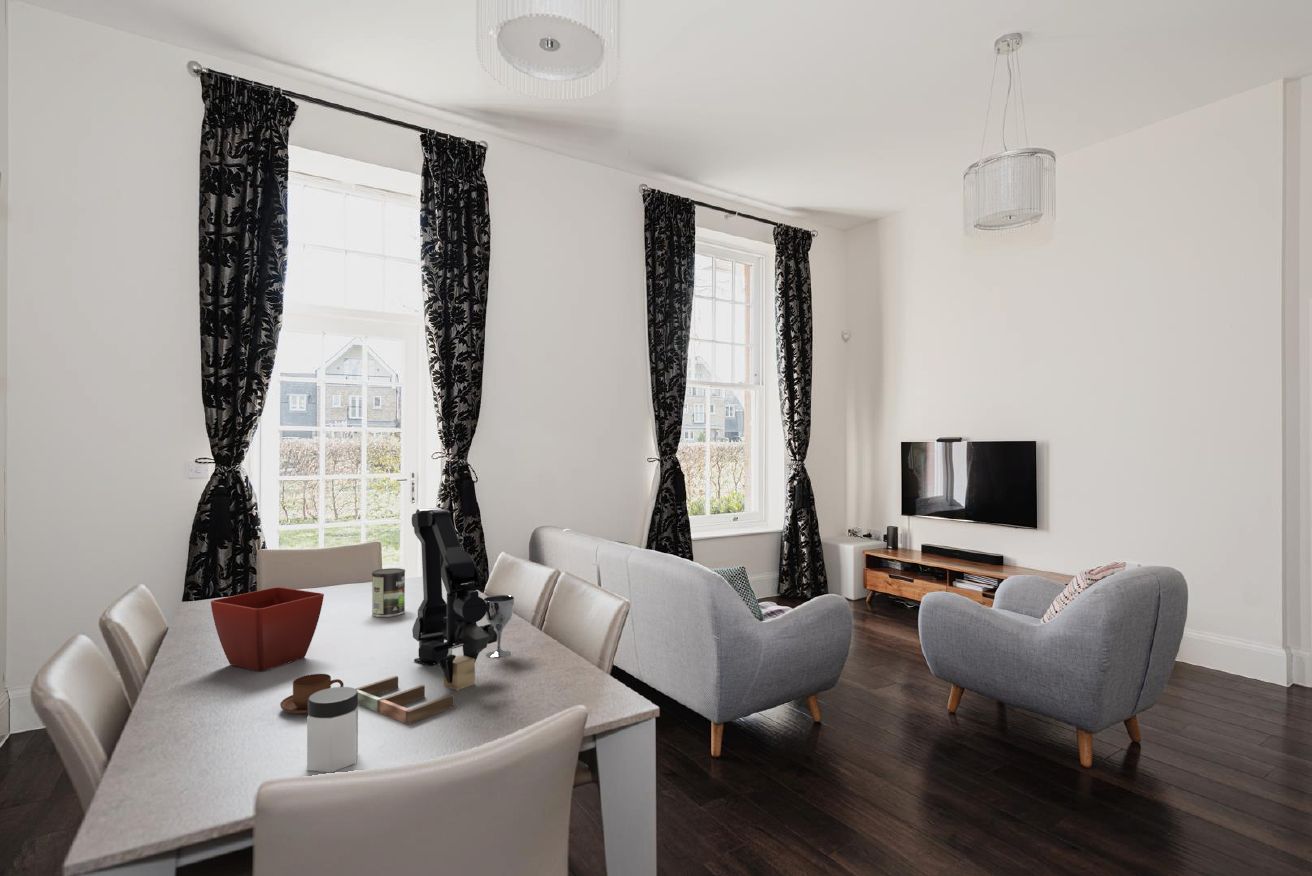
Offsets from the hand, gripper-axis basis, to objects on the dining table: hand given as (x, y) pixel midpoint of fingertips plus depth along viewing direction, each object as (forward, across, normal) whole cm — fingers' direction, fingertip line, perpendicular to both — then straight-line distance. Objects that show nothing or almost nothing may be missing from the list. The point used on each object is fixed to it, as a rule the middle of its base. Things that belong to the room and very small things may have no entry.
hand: (459, 679), depth 161 cm
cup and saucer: (+2, -27, +15) cm, 31 cm away
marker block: (+1, 0, 0) cm, 1 cm away
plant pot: (+2, -18, +54) cm, 57 cm away
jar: (+1, -38, -13) cm, 40 cm away
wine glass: (+1, +21, +10) cm, 23 cm away
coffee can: (+2, +29, +73) cm, 79 cm away
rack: (+1, -15, 0) cm, 15 cm away
